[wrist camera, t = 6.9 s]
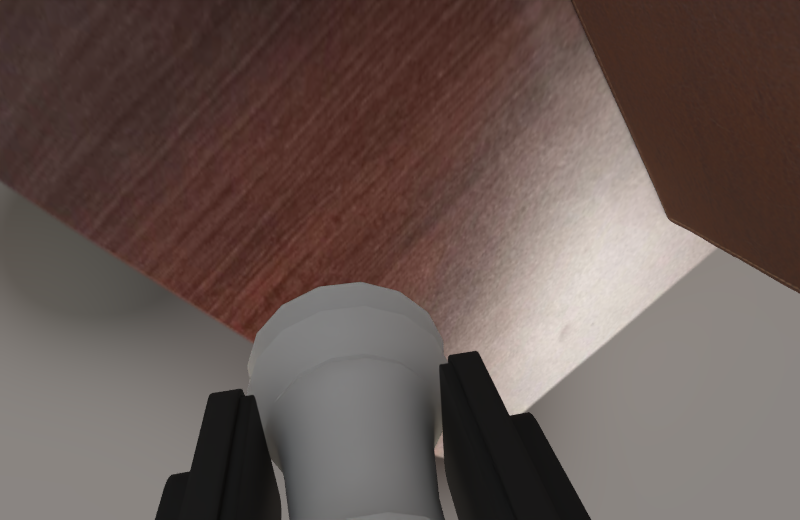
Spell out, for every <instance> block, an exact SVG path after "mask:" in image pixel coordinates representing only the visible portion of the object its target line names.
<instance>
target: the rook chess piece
mask: <svg viewBox="0 0 800 520" xmlns="http://www.w3.org/2000/svg"><path fill="white" fill-rule="evenodd" d="M445 363H448V361H447V359H446V358H445V356H444V350H443V340H442V338H441V336H440V334H439V332H438V330H437V328H436V326H435V324H434V323H433V321H432V319H431V317H430V315H429V313H428V312H427V311H425V310H424V309H423V308H421V307H420V306H418V305H417V304H416V303H414V302H413V301H412V300H410V299H409V298H408V297H406V296H405V295H403V294H402V293H401V292H399V291H395V290H391V289H387V288H383V287H379V286H375V285H371V284H367V283H362V282H357V283H349V284H340V285H331V286H322V287H318V288H316V289H314V290H312V291H310V292H308V293H306V294H304V295H302V296H300V297H298V298H296V299H294V300H292V301H290V302H288V303H286V304H284V305H282V306H281V307H280V308H279V309H278V310H277V312H276V313H275V314H274V315H273V316H272V317H271V318H270V319H269V321H268V322H267V323H266V324H265V325H264V326H263V327H262V328H261V330H260V331H259V332H258V333H257V335H256V338H255V342H254V345H253V348H252V352H251V355H250V359H249V362H248V366H247V368H248V373H249V378H250V383H249V386H248V389H247V396H248V395H254V396H255V399H256V402H257V406H258V410H259V414H260V418H261V422H262V426H263V430H264V434H265V438H266V442H267V446H268V450H269V454H270V458H271V459H272V460H273V462H274V463H275V464H276V465H277V466H278V468H279V469H280V470H281V471H282V472H283V475H284V480H285V488H286V496H287V503H288V511H289V519H290V520H445V518H444V515H443V511H442V508H441V504H440V500H439V492H438V482H437V473H436V464H435V454H434V448H435V446H436V444H437V442H438V440H439V438H440V435H441V433H442V412H441V394H440V377H439V365H440V364H445Z"/></svg>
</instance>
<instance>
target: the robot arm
mask: <svg viewBox="0 0 800 520" xmlns="http://www.w3.org/2000/svg"><path fill="white" fill-rule="evenodd" d="M439 377H440V394H441V412H442V429H443V447H444V464H445V472H446V477H447V482H448V485H449V489H450V492H451V496H452V499H453V502H454V506H455V509H456V513H457V516H458V519H459V520H591V519H590V517H589V515H588V513H587V512H586V510H585V508H584V506H583V504H582V502H581V500H580V499H579V497H578V495H577V493H576V491H575V489H574V488H573V486H572V484H571V482H570V481H569V479H568V477H567V475H566V473H565V471H564V470H563V468H562V466H561V464H560V462H559V460H558V459H557V457H556V455H555V453H554V452H553V450H552V448H551V446H550V444H549V442H548V440H547V439H546V437H545V435H544V433H543V431H542V429H541V428H540V426H539V424H538V422H537V421H536V419H535V418H534V416H533V415H532V414H531V413H529V412H528V413H522V414H516V415H511V416H509V414H508V412H507V410H506V408H505V406H504V403H503V401H502V399H501V397H500V395H499V393H498V391H497V389H496V387H495V385H494V383H493V381H492V379H491V377H490V375H489V373H488V371H487V369H486V367H485V365H484V363H483V361H482V359H481V357H480V355H479V353H478V352H477V351H472V352H466V353H460V354H453V355H449V356H448V363H445V364H440V365H439ZM155 520H281V500H280V494H279V491H278V487H277V482H276V478H275V475H274V470H273V466H272V462H271V458H270V454H269V450H268V446H267V442H266V438H265V434H264V430H263V426H262V422H261V418H260V414H259V410H258V406H257V402H256V399H255V396H254V395H248V396H245V395H244V393H243V390H242V389H236V390H229V391H223V392H217V393H212V394H210V395H209V398H208V401H207V405H206V409H205V413H204V417H203V422H202V426H201V429H200V434H199V438H198V442H197V446H196V450H195V454H194V458H193V462H192V466H191V470H190V472H185V473H179V474H173V475H171V476H170V477H169V478H168V480H167V482H166V484H165V487H164V490H163V494H162V497H161V501H160V504H159V507H158V511H157V514H156V518H155Z"/></svg>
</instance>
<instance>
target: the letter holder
mask: <svg viewBox="0 0 800 520" xmlns="http://www.w3.org/2000/svg"><path fill="white" fill-rule="evenodd" d="M571 1H572V3H573V5H574V7H575V10H576V12H577V14H578V17H579V19H580V21H581V23H582V26H583V28H584V30H585V33H586V35H587V37H588V40H589V42H590V44H591V46H592V48H593V51H594V53H595V56H596V58H597V61H598V63H599V65H600V67H601V69H602V71H603V74H604V76H605V78H606V80H607V83H608V85H609V87H610V89H611V91H612V93H613V96H614V98H615V100H616V103H617V105H618V107H619V109H620V111H621V113H622V116H623V118H624V120H625V122H626V125H627V127H628V129H629V131H630V133H631V136H632V138H633V140H634V142H635V145H636V147H637V149H638V151H639V154H640V156H641V158H642V160H643V162H644V165H645V167H646V169H647V171H648V174H649V176H650V178H651V180H652V182H653V185H654V187H655V189H656V191H657V193H658V196H659V198H660V201H661V203H662V206H663V208H664V210H665V213H666V215H667V217H668V219H669V220H670V221H671V222H673V223H675V224H677V225H679V226H681V227H683V228H685V229H687V230H689V231H691V232H692V233H694V234H696V235H698V236H700V237H701V238H703V239H704V240H706V241H708V242H709V243H711V244H713V245H714V246H716V247H718V248H720V249H722V250H724V251H725V252H727V253H729V254H731V255H732V256H733V257H736V258H738V259H740V260H742V261H743V262H745V263H747V264H749V265H750V266H752V267H754V268H756V269H757V270H759V271H761V272H762V273H764V274H766V275H768V276H769V277H771V278H773V279H774V280H776V281H778V282H780V283H781V284H783V285H785V286H787V287H788V288H790V289H792V290H794V291H796V292H798V293H800V0H571Z"/></svg>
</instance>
